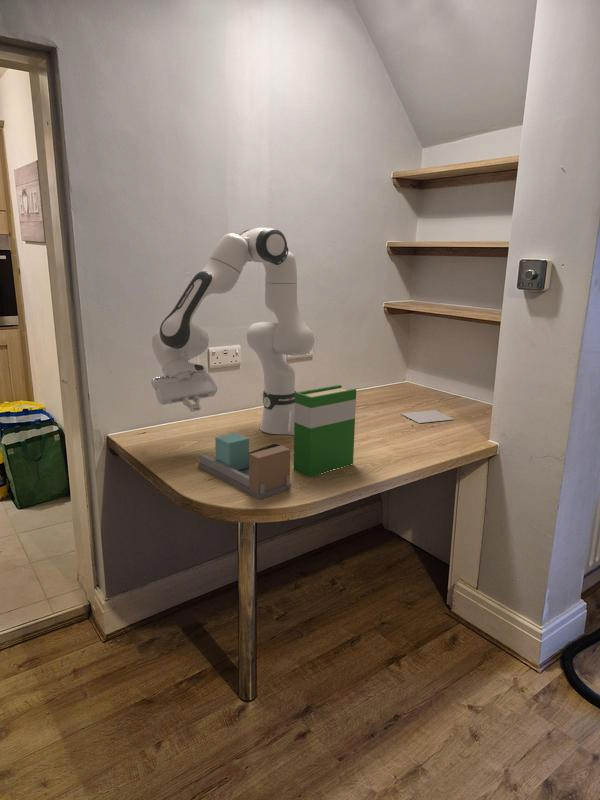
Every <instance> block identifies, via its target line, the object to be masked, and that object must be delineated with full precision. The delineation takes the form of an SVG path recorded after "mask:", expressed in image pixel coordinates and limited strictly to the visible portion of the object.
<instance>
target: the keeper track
mask: <svg viewBox="0 0 600 800" xmlns="http://www.w3.org/2000/svg"><path fill="white" fill-rule="evenodd" d="M279 445H280V446H277V447H273V448H269V449H266V450H262V451H258V452H255V453H251V454H249V468H245V469H242V470H239V471H237V470H235V469H233V468H231V467H229V466H227V465H225V464H223V463H221V462H219V461H217V460H216V457H213V458H212V457H211V456H208V455H207V454H204V453H199V454H198V455H199V456H198V457H199V462H197V464H198V465H197V466H198V468H199V469H201V470H203V471H205V472H206V473H208V474H210V475H213V476H214V477H216V478H218V479H220V480H222V481H224V482H225V483H227V484H229V485H232V486H233V487H235V488H237V489H239V490H241V491H243V492H244V493H247V494H248V495H251V496H253V497H254V498H256V499H257V500H263V499H265V498H267V497H271V496H274V495H277V494H279V493H283V492H286V491H289V490H292V484H291V448H290V447H287V446H283V445H281V444H279ZM286 447H287V448H286ZM289 448H290V449H289Z"/></svg>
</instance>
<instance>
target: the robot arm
mask: <svg viewBox="0 0 600 800" xmlns="http://www.w3.org/2000/svg"><path fill="white" fill-rule="evenodd" d="M248 262H254V263H262V265H263V267H264V270H265V280H264V282H265V283H264V286H265V287H264V303H265V307H266V308H267V309H268V310H269V311H271V312H272V313H273V314H274V315H275V317H276V320H277V322H275V321H274V322H273V321H260V322H254V323H252V324H251V325H250V326H249V328H248V329H247V332H246V342H247V344H248V346H249V348H251V349H252V350H253V351H254V352H255V354H256V355H257V357H258V359H259V361H260V363H261V365H262V369H263V380H264V382H263V383H264V384H263V385H264V386H263V388H264V389H263V392H262V402H263V411H262V418H261V422H260V426H259V430H260V431H261V432H263V433H265V434H266V433H267V434H272V435H291V436H294V415H295V393H296V392H297V391H296V386H295V385H296V371H295V369H294V368H293V366H292V365H290V364H289V363H287V362H286V360H285V358H284V356H285V355H286V356H294V357H296V356H297V357H298V356H304V355H308V354H309V353H310V352H311V351H312V350H313V348H314V346H315V333H314V332H313V331H312V329H311V328H310V327H309V326H308V325H307V324H306V323H305V321H304V320H303V318H302V316H301V314H300V311H299V307H298V306H299V305H298V269H297V262H296V258H295V255H294V254H293V253H292V252H291V251H290V250H289V247H288V241H287V239H286V236H285V235H284V233H283V232H281V230H279V229H277V228H273V227H255V228H252V229H251V228H250V229H246V230H244V231H242V232H241V233H239V234H236V233H231V232H229V233H226V234H224V235H223V236H222V238H220V240H219V241H218V243H217V244H216V246H215V247H214V248H213V251H212V252H211V255H210V257H209V258H208V261H207V263H206V265H205V266H204V267H203V269H202V270H201V271H198V272H197V273H196V274H195V275H194V277H193V278H192V279H191V280H190V281H189V283H188V285H187V287H186V289H184V292H183V294H181V296H180V298H179V300H178V301H177V303H176V304H175V306H174V308H173V309H172V310H171V312H169V314H168V315H167V316H166V317H165V318H164V319H163V320H162V322H161V324H160V326H159V330H157V332H155V333H154V334H153V336H152V337H151V348H152V351H153V354H154V357H155V358H156V360H157V363H158V364H159V365H160V366H161V371H162V373H163V376H156V377H154V378H152V380H151V385H152V388H153V389H154V392H155V396H156V399H157V402H158V403H159V404H160V405H162V406H164V405H169V404H175V403H177V404H178V403H181V402H182V403H183V405H184V406H185V407H187V408H188V409H189V412H190V413H194V412H198V411H200V410H201V408H202V407H201V405H200V400H201V399H205V398H210V397H214V396H215V395H216V394H217V392H218V386H217V384H216V382H215V379H214V378H213V376H212V375H211V374H210V373H209V372H207V367H206V365H203V364H197V363H193V362H189V360H192V359H193V358H196V357H197V356H198V357H199V355H201V354H202V353H204V352H205V351H206V350H207V348H208V345H209V335H208V333H207V332H206V331H205V329H203V328H202V327H200V326H198V325H196V324H194V323H193V322H192V320H193V317H194V316H195V313H196V312H197V311H198V308H199V307H200V305H201V303H202V302H203V301H204V299H205V298H207V296H209V295H212V294H214V295H215V294H220V295H221V294H226V293H229V292H230V291H232V290H233V288H234V287H235V286H236V285H237V283H238V280H239V278H240V276H241V274H242V272H243V269H244V266H245V265H246V264H247V263H248ZM283 355H284V356H283ZM298 392H301V391H298ZM190 401H192V402H193V403H192V402H190Z"/></svg>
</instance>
